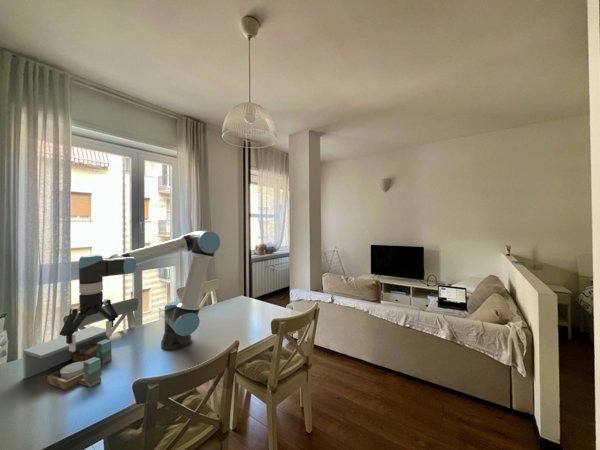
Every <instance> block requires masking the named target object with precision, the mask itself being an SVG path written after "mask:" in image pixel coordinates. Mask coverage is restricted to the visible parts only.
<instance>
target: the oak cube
mask: <svg viewBox="0 0 600 450" xmlns="http://www.w3.org/2000/svg"><path fill="white" fill-rule="evenodd" d="M95 351H97V346H95V345H89V346H87V347H84V348H82V349H80V354H81V355H84V356H86V355H88V354H90V353H93V352H95Z"/></svg>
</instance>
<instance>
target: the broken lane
mask: <svg viewBox="0 0 600 450" xmlns="http://www.w3.org/2000/svg"><path fill="white" fill-rule="evenodd" d="M72 357H73V359H72V361H73V362H78V361H81V360H89V359H91V358H93V357H96V358H100V362H101V366H103V365H106V364H108V363H109V362H111V361H113V360H112V340H111V339H110V340H107V339H105V340H103V341H100V342H98V343H97V351H95V352H93V353H90V354H88V355H86V356H84V355H81V354H80V351H78V352H76V353H73V354H72Z"/></svg>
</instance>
